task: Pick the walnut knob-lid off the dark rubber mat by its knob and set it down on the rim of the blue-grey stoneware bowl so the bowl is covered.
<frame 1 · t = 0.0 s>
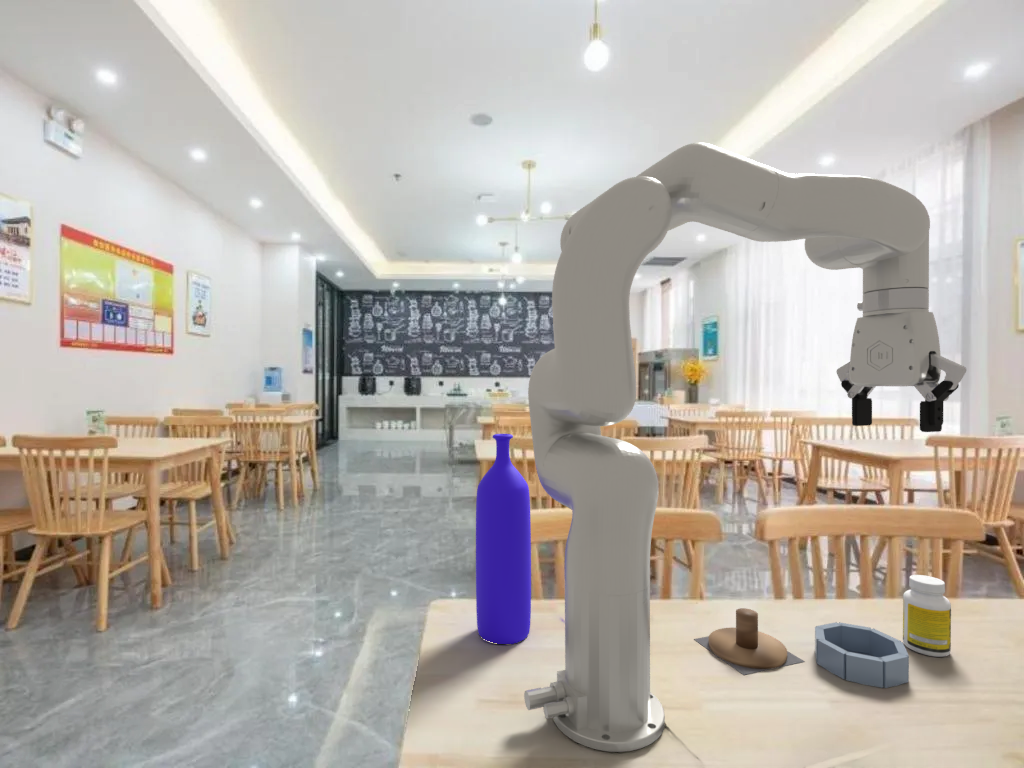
hand: (894, 428, 76), 31 cm above the table, fingers open, 9 cm apart
lid: (746, 649, 75), point 1 cm above the table, touching mat
supplement bottle: (926, 649, 77), on the table
bottle: (503, 634, 82), on the table
bowl: (859, 670, 71), on the table
mat: (746, 654, 75), on the table
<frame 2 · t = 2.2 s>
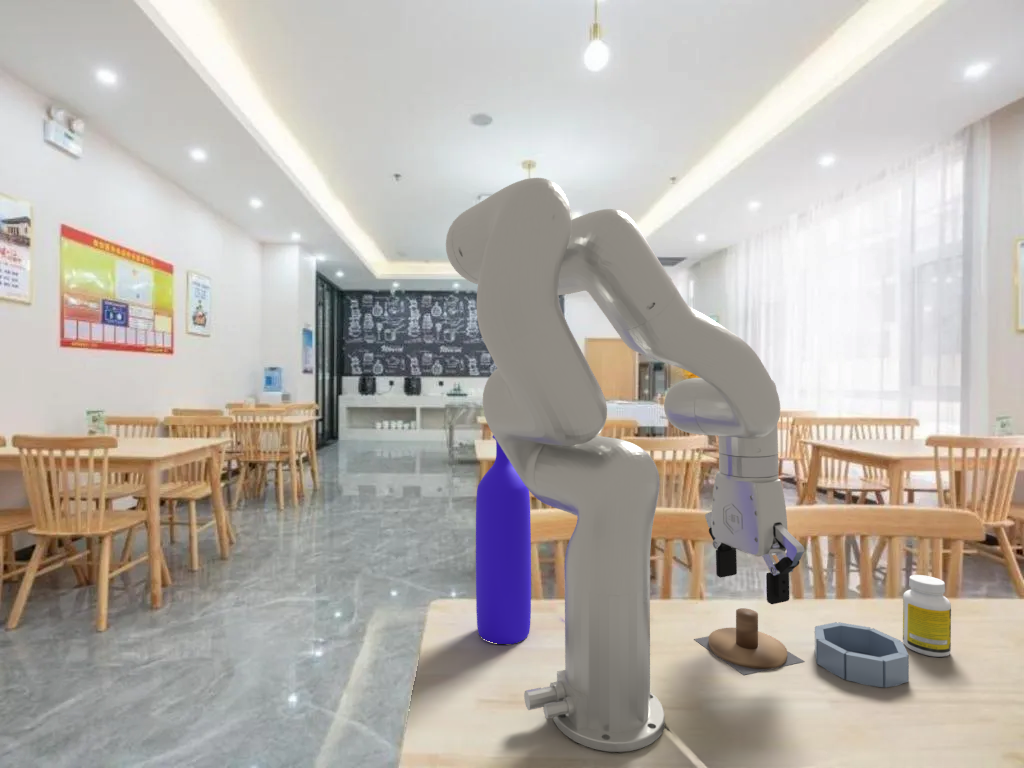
hand: (750, 587, 76), 9 cm above the table, fingers open, 9 cm apart
nothing on the table moved.
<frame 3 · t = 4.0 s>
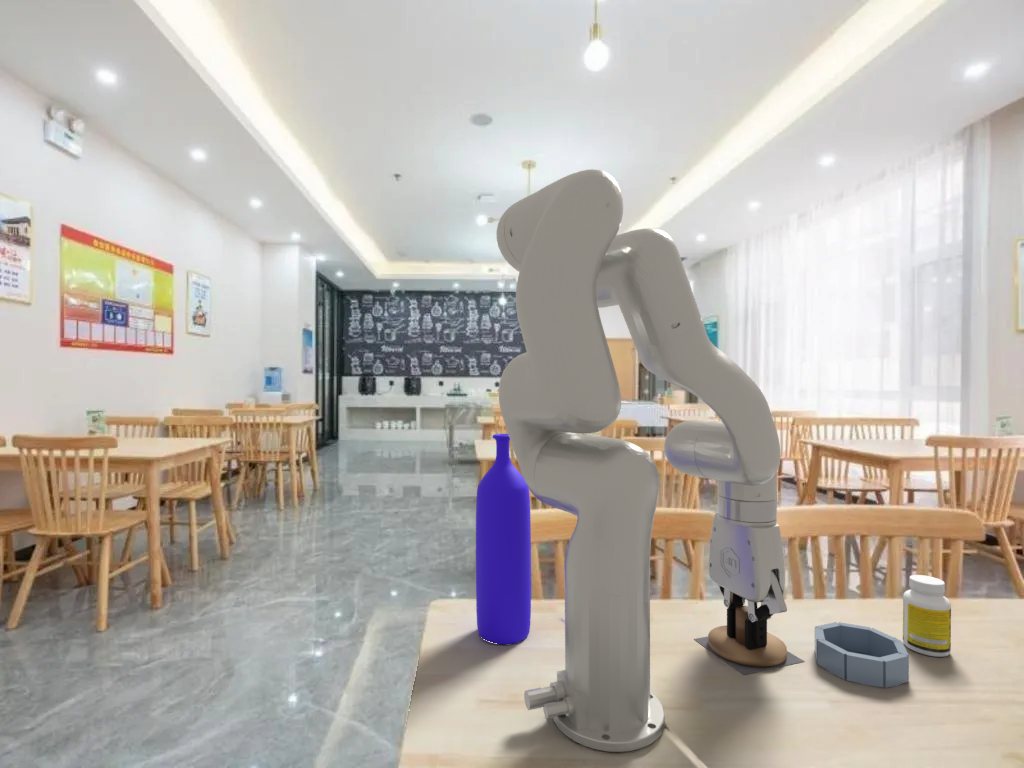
hand: (746, 640, 75), 2 cm above the table, fingers closed on lid, 2 cm apart
lid: (746, 647, 75), point 1 cm above the table, touching gripper
everything else where it was.
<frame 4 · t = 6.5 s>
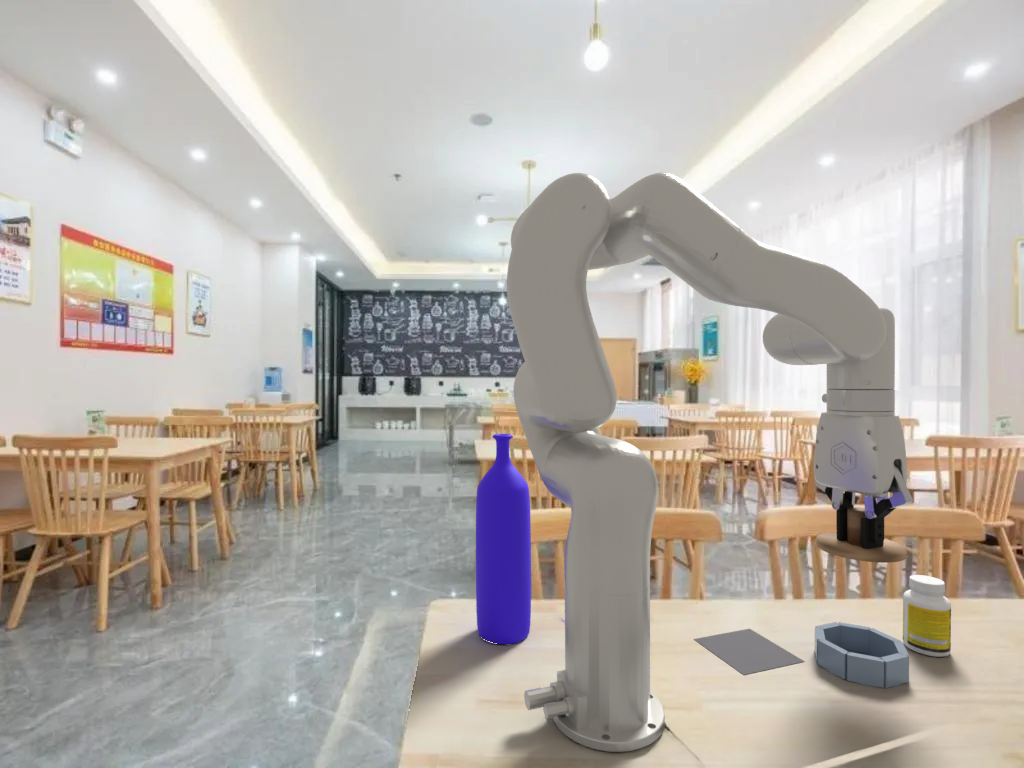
hand: (859, 542, 71), 17 cm above the table, fingers closed on lid, 2 cm apart
lid: (859, 549, 71), point 16 cm above the table, touching gripper
everything else where it was.
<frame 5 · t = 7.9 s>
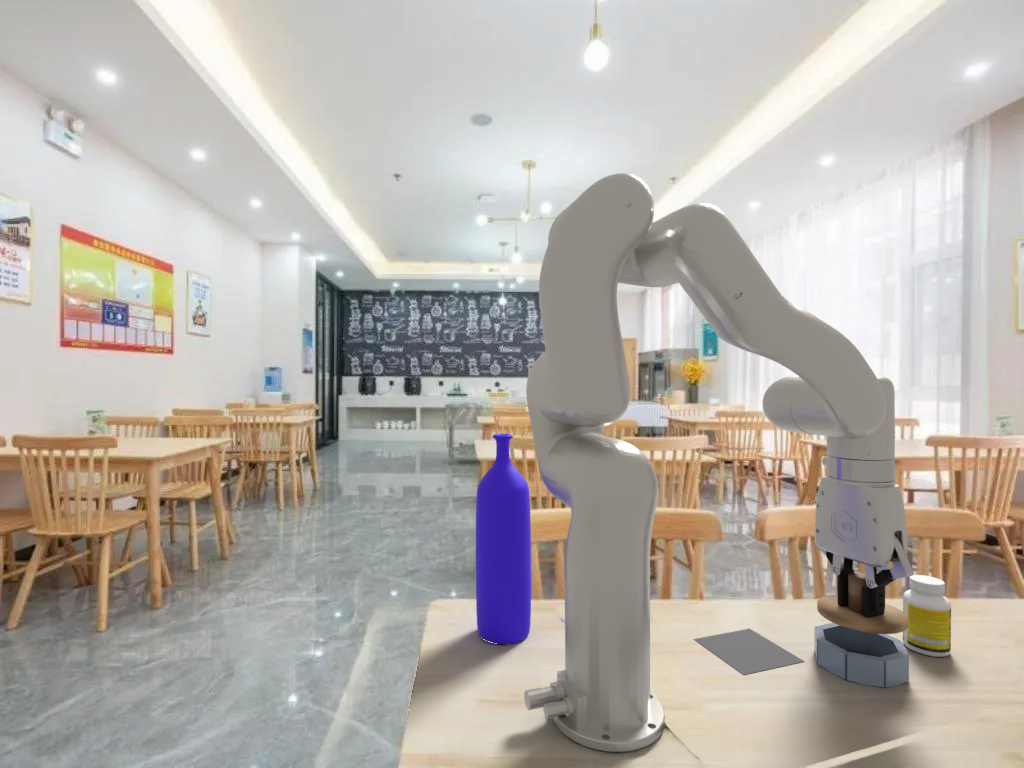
hand: (860, 608, 71), 8 cm above the table, fingers closed on lid, 2 cm apart
lid: (860, 615, 71), point 7 cm above the table, touching gripper
everything else where it was.
when the fingers open (6 cm above the table, at t = 9.0 s): lid drops 1 cm, resting on bowl.
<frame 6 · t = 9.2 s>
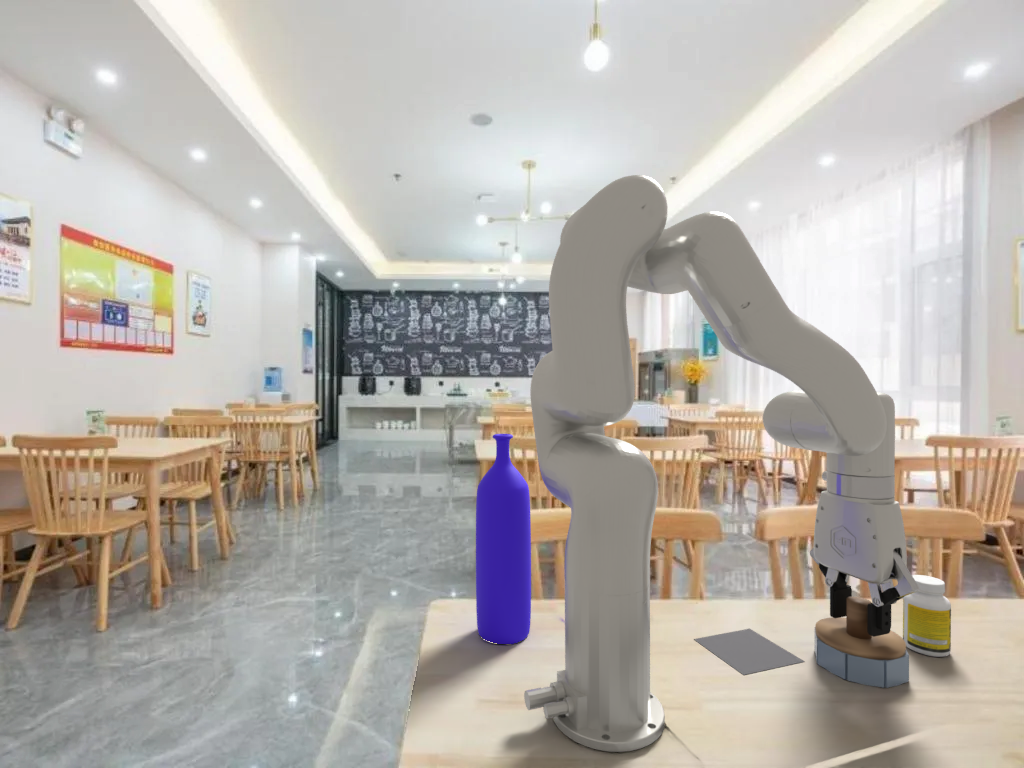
hand: (859, 623, 71), 6 cm above the table, fingers open, 4 cm apart
lid: (858, 640, 71), point 4 cm above the table, touching bowl
bowl: (859, 670, 71), on the table, touching lid
everything else where it was.
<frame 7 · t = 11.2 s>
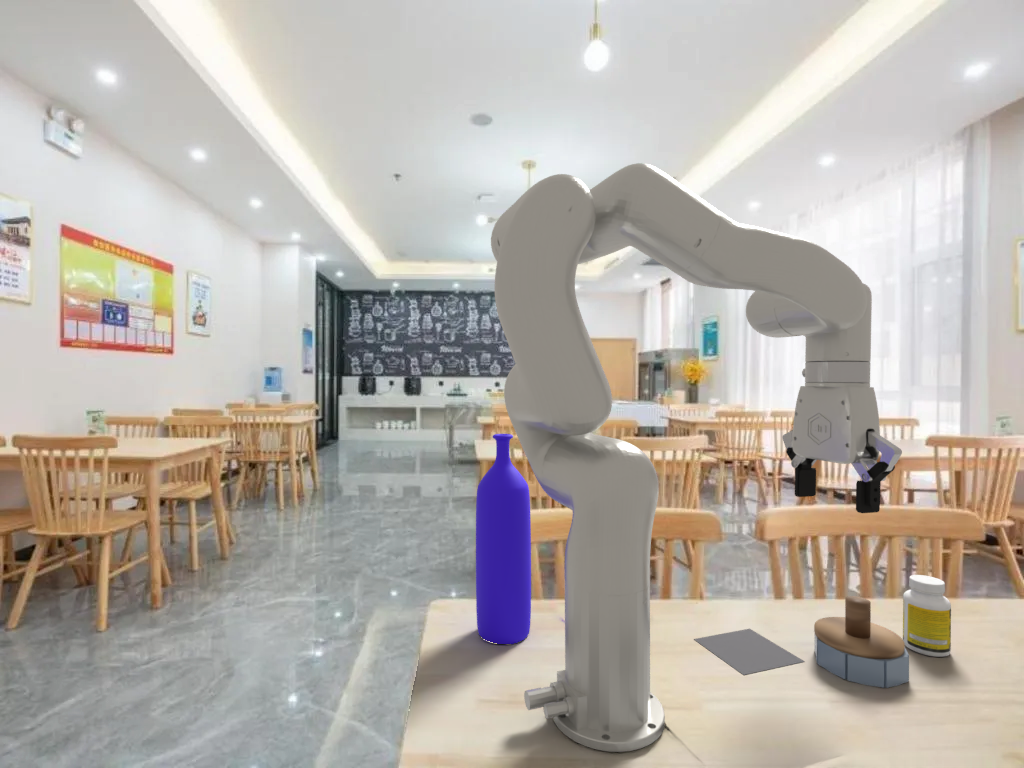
hand: (834, 503, 73), 21 cm above the table, fingers open, 9 cm apart
lid: (857, 639, 72), point 4 cm above the table
bowl: (859, 670, 71), on the table
everything else where it was.
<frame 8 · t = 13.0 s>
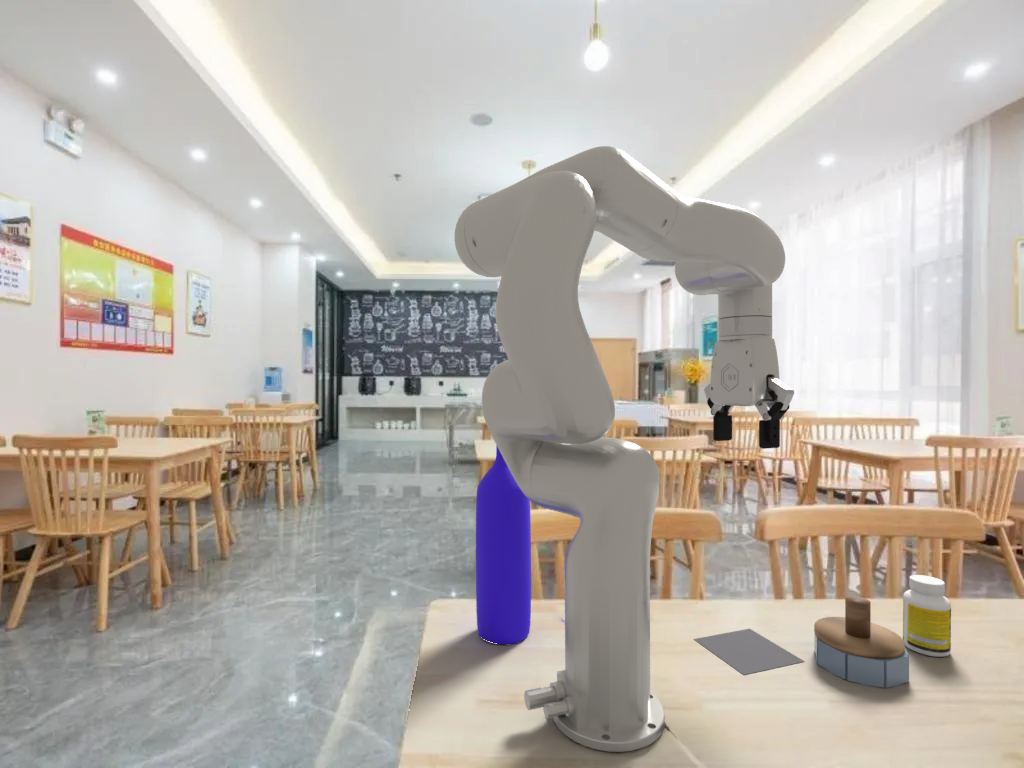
hand: (744, 443, 82), 28 cm above the table, fingers open, 9 cm apart
lid: (857, 639, 72), point 4 cm above the table, touching bowl
bowl: (859, 670, 71), on the table, touching lid
everything else where it was.
at the end: lid 0.2 cm off-centre on the bowl, point 4.0 cm above the bowl's base; lid tilted 0°; the gripper is holding nothing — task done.
